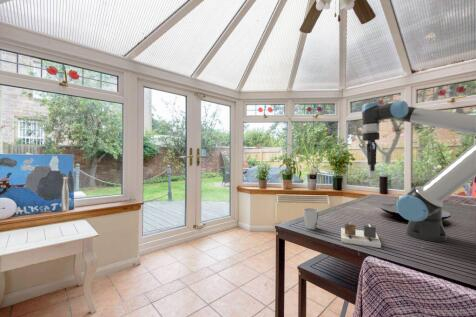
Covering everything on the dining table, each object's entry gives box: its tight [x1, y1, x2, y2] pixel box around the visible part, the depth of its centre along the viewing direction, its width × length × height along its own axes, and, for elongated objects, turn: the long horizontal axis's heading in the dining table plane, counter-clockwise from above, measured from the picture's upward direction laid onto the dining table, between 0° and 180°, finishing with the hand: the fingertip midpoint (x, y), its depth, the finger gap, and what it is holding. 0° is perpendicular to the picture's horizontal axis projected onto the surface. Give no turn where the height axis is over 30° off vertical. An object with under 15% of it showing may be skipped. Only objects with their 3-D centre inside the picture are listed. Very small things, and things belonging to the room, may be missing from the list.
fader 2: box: [363, 223, 377, 238], centre depth 98 cm, size 4×3×5 cm
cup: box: [302, 207, 319, 230], centre depth 119 cm, size 8×8×10 cm
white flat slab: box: [340, 227, 382, 249], centre depth 103 cm, size 16×15×2 cm
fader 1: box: [344, 221, 357, 236], centre depth 102 cm, size 4×3×5 cm
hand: (372, 176), depth 113 cm, fingers closed
